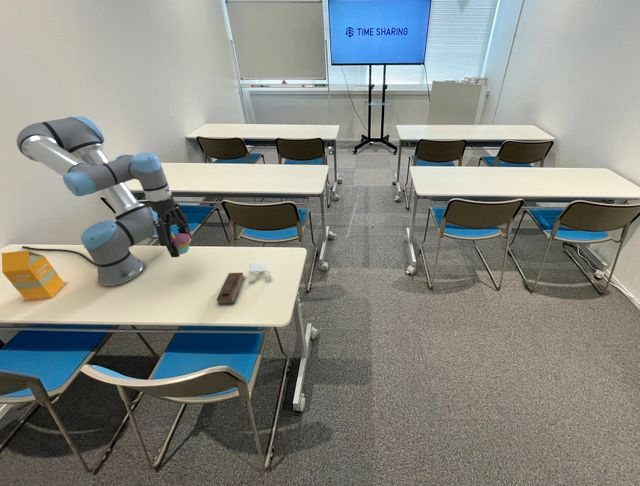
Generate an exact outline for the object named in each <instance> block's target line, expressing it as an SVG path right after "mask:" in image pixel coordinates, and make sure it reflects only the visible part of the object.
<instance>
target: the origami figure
mask: <svg viewBox="0 0 640 486" xmlns="http://www.w3.org/2000/svg"><path fill="white" fill-rule="evenodd" d="M248 267H249V270H250V272H249V273H250V274H249V276H248V278H247V280H252V281H251V283H254V282H255V281H256V278H254V277H253V275H254V274H256V273H267V274H268V278H267V282H270V279H271V278H273V276H272V274H271V273H270V271H269V269H267V267H265V266H264V265H263V264H261V263H248Z"/></svg>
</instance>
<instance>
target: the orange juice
mask: <svg viewBox="0 0 640 486" xmlns="http://www.w3.org/2000/svg"><path fill="white" fill-rule="evenodd" d="M1 270H2V271H1V273H2V274H3V275H4V276H5V277H6V279H7V280H8V281H9V283H11V285H12V286H13V288H14V289H16V290H17V292H18V293H19V294H20V296H22V297H23V299H24V300H26V301H33V300H43V299H51V298H53V297H54V296H55V295H56V294H57V293H58V292H59V291H60V290H61V289H62V288H63V287H64V286H65V282H64V280H63V279H62V278H61V277H60V275H59V274H58V272H57V271H56V269H55V268H54V267H53V266H52V264H51V263H50V261H49V260H48V259H47V257H46V256H45V255H43V254H40V253H37V252H34V251H30V250H23V251H21V250H20V251H10V252H1Z"/></svg>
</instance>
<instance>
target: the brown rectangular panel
mask: <svg viewBox="0 0 640 486" xmlns="http://www.w3.org/2000/svg"><path fill="white" fill-rule="evenodd" d="M244 280H245V277H244V273H243V272H228V274H227V276H226V277H225V280H224V282H223V285H222V286H221V289H220V290H219V292H218V295H217V297H216V301H217V304H218V305H219V306H223V305H225V306H226V305H234V304H235V302H236V299H237V298H238V294H239V293H240V290H241V287H242V284H243V282H244Z"/></svg>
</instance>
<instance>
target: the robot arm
mask: <svg viewBox="0 0 640 486" xmlns="http://www.w3.org/2000/svg"><path fill="white" fill-rule="evenodd" d="M104 143H105V137H104V135H103V134H102V131H101V130H100V128H99V127H98V126H97V125H96V124H95V123H94V122H93V121H92V120H91V119H89V118H88V117H86V116H81V115H80V116H79V115H78V116H68V117H64V118H58V119H52V120H48V121H47V120H45V121H41V122H34V123H32V124H28V125H27V126H25V127H24V128H23V129H21V130H20V132H19V133H18V135H17V137H16V146H17V149H18V151H19V152H20V153H21V154H22V155H23V156H24V157H26V158H27V159H29V160H30V161H33V162H37V163H41V164H42V165H44V166H46V167H47V168H49V170H52V171H54V172H55V173H57V174H58V175H60V176H61V177H62V181H63V183H64V184H65V186H66V188H67V189H68V190H69V191H70V193H72V194H73V195H74V196H76V197H84V196H87V195H92V194H95V193H97V192H101V194H102V195H103V197H104V198H105V200H107V202H108V203H109V205H110V206H111V207H112V209H113V211H114V212H115V214H114V219H115V220H116V221H114V220H111V219H108V220H107V219H106V220H103V221H98V222H96V223H94V224H91V225H90V226H88V227H87V228H86V229H84V230H83V232H82V233H81V234H80V240H81V243H82V245H83V247H84V249H86V251H87V253H88V254H89V256H90V258H89V257H87V255H85V254H83V253H81V252H80V251H75V250H70V249H63V248H39V247H37V248H36V247H29V246H25V245H22V246H21V248H22V249H27V250H32V251H47V252H48V251H50V252H65V253H72V254H75V255H78V256H80V257H82V258H84V259H85V260H86V261H88V262H89V263H90V264H91V265H93V266H95V267H96V269H97V279H98V281H99V283H100V284H101V285H102V286H104V287H116V286H120V285H124V284H127V283H128V282H131V281H132V280H134V279H135V278H137V277H138V276H140V274H141V273H142V272H143V270H144V264H143V262H142V261H141V260H140V259H139V258H137V257H136V256H135V255H134V254H132V252H131V250H130V248H131V247H134V246H135V245H138V244H139V243H141V242H143V241H145V240H147V239H149V238H152V237H154V236H155V235H157V238H158V241H159V242H158V243H159V246H160V247H166V249H167V251H168V253H169V255H170V257H171V258H180V255H181V254H179V253H178V250H177V248H176V246H175V243H174V242H172V235H171V232H172V228H171V226H172V224H174V225H176V227H177V233H178V234H179V233H183V234H187V235H189V234H188V231H187V228H188V227H189V226H188V220H187V218H186V216H185V215H184V213H183V212H182V209H181V207H180V204H179V203H178V202H176V201H175V198H174V196H173V194H172V191H171V188H170V186H169V182H168V180H167V178H166V176H165V172H164V169H163V167H162V163H161V161H160V159H159V157H158V156H157V154H155V153H153V152H143V153H138V154H135V155H133V154H127V153H126V154H125V153H124V154H119V155H118V156H116V158H114V160H109V159H108V157H107V156H106V155H105V153H104V151H103V150H104V148H105V145H104ZM132 180H137V181H139V184H140V185H141V188H142V190H143V193H144V195H145V198H146V200H147V202H148V204H149V206H148V207H147V206H146V204H144V203H142V202H140V201H139V202H138V200H137V198H136V197H135V196H134V194H133V193H132V191H131V190H130V189H129V187H128V186H127V184H126V182H130V181H132Z"/></svg>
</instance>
